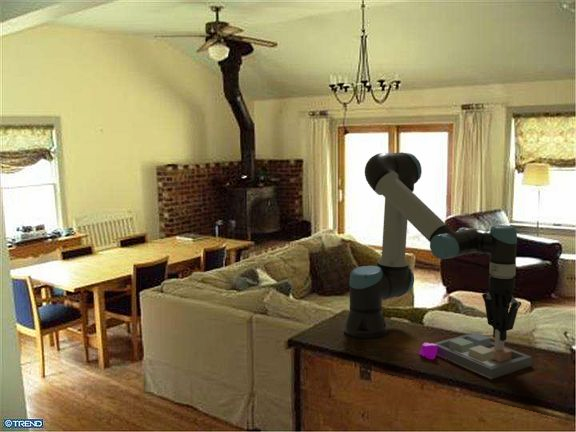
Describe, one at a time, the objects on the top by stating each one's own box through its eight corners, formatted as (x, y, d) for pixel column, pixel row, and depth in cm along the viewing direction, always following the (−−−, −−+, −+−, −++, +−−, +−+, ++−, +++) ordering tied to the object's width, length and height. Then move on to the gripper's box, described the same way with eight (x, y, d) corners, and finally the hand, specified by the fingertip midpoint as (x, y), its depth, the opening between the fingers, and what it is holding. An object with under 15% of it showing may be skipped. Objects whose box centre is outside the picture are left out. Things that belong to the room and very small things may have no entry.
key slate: (466, 343, 178) (466, 335, 177) (477, 340, 180) (477, 333, 180) (479, 348, 173) (479, 340, 173) (490, 345, 176) (490, 337, 176)
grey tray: (431, 352, 178) (431, 343, 177) (469, 341, 187) (470, 333, 186) (491, 379, 157) (491, 369, 157) (531, 366, 166) (531, 356, 165)
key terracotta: (486, 356, 171) (486, 348, 171) (497, 353, 174) (497, 345, 173) (500, 362, 167) (500, 354, 166) (511, 358, 169) (511, 351, 169)
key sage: (449, 347, 174) (449, 340, 174) (460, 344, 176) (460, 337, 176) (461, 353, 169) (461, 345, 169) (473, 350, 172) (473, 342, 172)
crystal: (434, 353, 177) (434, 339, 176) (439, 360, 172) (439, 346, 171) (418, 353, 177) (418, 340, 176) (422, 360, 172) (422, 346, 171)
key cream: (468, 356, 167) (468, 348, 167) (480, 352, 170) (480, 345, 169) (482, 362, 162) (482, 354, 162) (494, 358, 165) (494, 350, 165)
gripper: (476, 273, 170) (474, 345, 174) (512, 281, 159) (508, 358, 162) (493, 270, 174) (490, 340, 177) (528, 278, 163) (525, 353, 166)
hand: (499, 349), depth 170 cm, fingers closed
